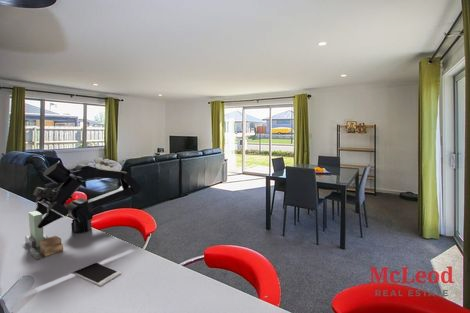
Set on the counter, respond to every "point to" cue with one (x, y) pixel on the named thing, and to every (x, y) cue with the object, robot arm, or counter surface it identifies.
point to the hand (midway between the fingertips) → (34, 224)
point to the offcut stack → (51, 245)
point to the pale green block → (36, 227)
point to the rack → (35, 248)
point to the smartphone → (97, 273)
